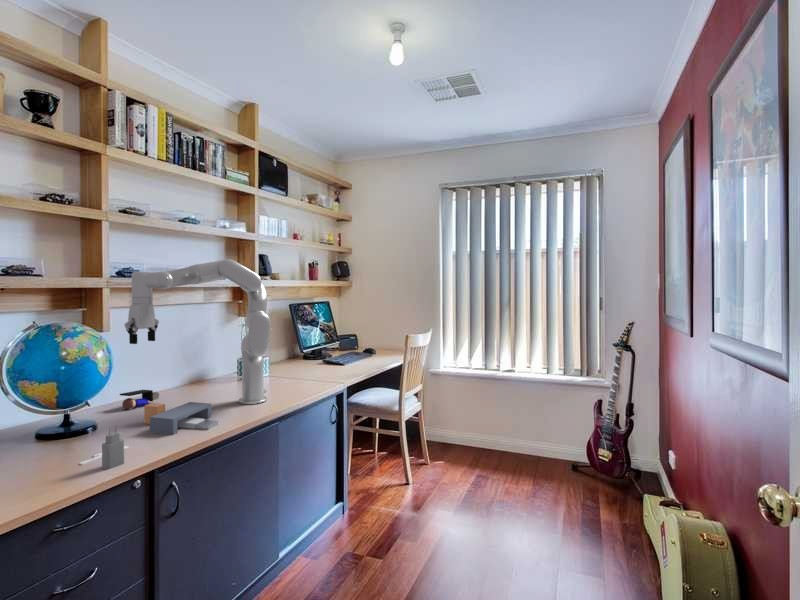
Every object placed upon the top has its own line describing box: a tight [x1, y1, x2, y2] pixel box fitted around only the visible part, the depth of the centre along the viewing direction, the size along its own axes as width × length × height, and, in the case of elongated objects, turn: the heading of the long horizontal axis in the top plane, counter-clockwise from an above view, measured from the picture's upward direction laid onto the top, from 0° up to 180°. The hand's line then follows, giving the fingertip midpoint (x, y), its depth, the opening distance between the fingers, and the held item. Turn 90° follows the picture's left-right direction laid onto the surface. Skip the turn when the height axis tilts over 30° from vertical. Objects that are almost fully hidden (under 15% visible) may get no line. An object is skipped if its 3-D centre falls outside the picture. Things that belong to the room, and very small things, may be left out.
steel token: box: [195, 419, 219, 431], centre depth 171 cm, size 6×6×2 cm
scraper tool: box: [143, 402, 205, 430], centre depth 174 cm, size 6×23×7 cm, turn 78°
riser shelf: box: [149, 401, 212, 435], centre depth 174 cm, size 22×10×6 cm, turn 168°
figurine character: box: [119, 389, 160, 411], centre depth 199 cm, size 7×8×15 cm
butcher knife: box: [78, 445, 130, 466], centre depth 142 cm, size 5×15×1 cm, turn 158°
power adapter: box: [101, 424, 125, 470], centre depth 134 cm, size 3×5×12 cm, turn 156°
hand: (142, 342), depth 186 cm, fingers open, 9 cm apart
